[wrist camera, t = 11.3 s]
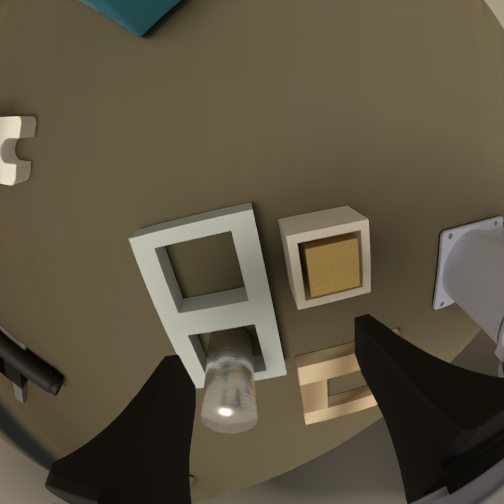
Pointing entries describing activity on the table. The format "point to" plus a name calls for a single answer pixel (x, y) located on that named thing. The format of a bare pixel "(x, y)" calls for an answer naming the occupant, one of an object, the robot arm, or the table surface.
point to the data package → (132, 12)
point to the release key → (330, 263)
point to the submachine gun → (25, 367)
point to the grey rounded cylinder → (229, 382)
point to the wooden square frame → (315, 383)
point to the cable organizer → (3, 148)
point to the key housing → (321, 227)
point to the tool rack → (215, 304)
